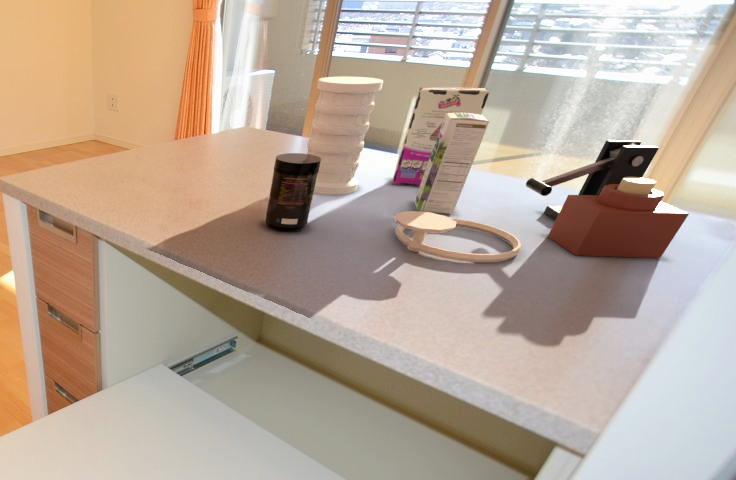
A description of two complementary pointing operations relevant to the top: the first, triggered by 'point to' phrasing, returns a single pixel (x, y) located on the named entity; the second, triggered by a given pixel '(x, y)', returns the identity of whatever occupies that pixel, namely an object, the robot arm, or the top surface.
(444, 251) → the hand towel holder
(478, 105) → the candy bar box
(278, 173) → the supplement container
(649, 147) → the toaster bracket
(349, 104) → the decorative container
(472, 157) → the syrup box
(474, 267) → the top surface
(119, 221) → the top surface
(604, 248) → the box
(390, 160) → the top surface
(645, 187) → the button
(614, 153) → the lever
